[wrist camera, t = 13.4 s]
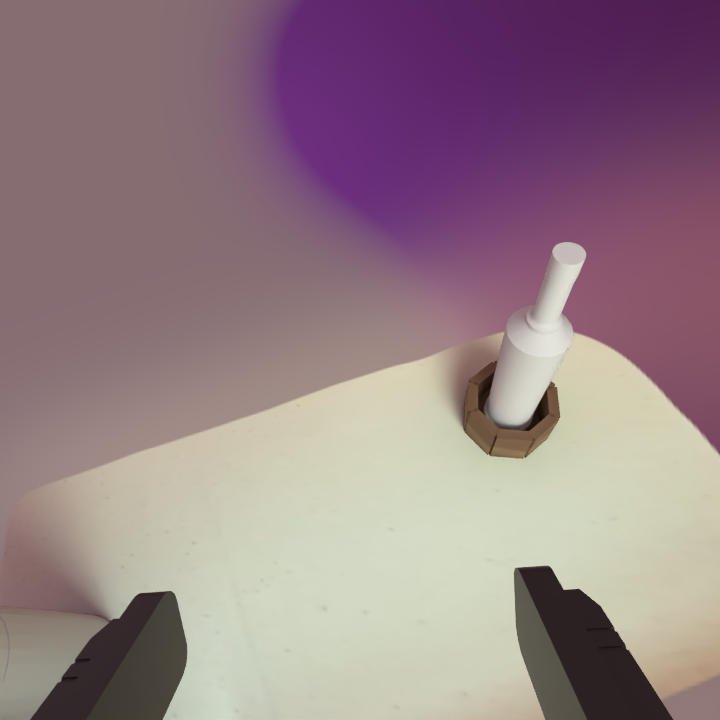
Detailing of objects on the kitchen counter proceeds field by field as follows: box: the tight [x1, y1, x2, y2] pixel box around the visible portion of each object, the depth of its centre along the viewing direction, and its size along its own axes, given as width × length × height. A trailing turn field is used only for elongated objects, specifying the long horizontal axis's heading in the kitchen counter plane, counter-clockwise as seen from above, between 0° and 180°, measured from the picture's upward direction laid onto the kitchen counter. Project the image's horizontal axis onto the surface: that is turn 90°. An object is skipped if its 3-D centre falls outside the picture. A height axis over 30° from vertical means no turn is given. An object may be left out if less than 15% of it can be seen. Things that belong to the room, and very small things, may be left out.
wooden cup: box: [464, 361, 560, 459], centre depth 49 cm, size 9×9×5 cm
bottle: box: [483, 242, 586, 431], centre depth 40 cm, size 5×5×25 cm
